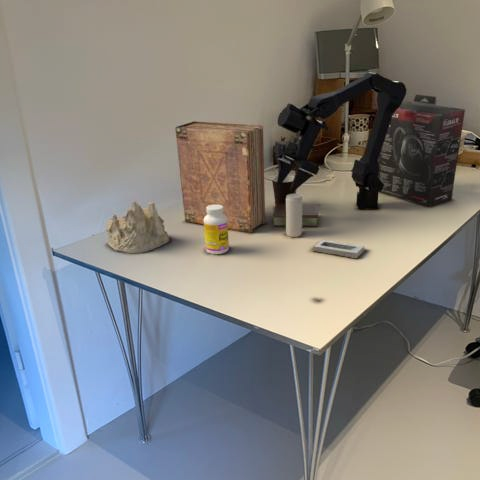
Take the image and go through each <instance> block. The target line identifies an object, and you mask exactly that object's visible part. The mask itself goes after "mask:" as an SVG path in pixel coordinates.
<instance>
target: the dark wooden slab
mask: <svg viewBox="0 0 480 480" xmlns="http://www.w3.org/2000/svg"><path fill="white" fill-rule="evenodd" d="M319 213H320V203H302V228H317V227H318V226H319V225H318V224H319ZM272 217H273V226H274V227H277V228H280V227H281V228H283V227H284V228H286V204H276V206H274V209H273V212H272Z"/></svg>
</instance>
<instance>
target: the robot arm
mask: <svg viewBox="0 0 480 480" xmlns="http://www.w3.org/2000/svg"><path fill="white" fill-rule="evenodd" d="M370 90H372V92H375V93H377V95H376V96H377V97H376V105H377V112H376V114H375V118H374V121H373V124H372V126H371V130H370V133H369V135H368V140H367V143H366V146H365V149H364V151H363V155H362V157H361V158H360V159H355V160H354V161H353V167H352V169H351V170H350V172H351V179H352V181H353V182H354V183H355V186H356V187H357V188H358V191H356V200H355V203H356V204H355V205H356V207H357V209H358V210H378V209H379V204H378V203H379V193H380V192H379V191H382V189H383V186H384V184H383V183H382V181H381V180H380V179H379V178H378V174H379V164H378V158H379V155H380V152H381V149H382V146H383V143H384V140H385V137H386V134H387V131H388V128H389V125H390V122H391V119H392V116H393V114H394V112H395V111H396V110H397V109H398V108H399V107H400V105H401V104H402V102H404V100H405V97H406V95H407V87H406V85H405V83H403V82H402V81H395V80H392V79H390V78H387V77H385V76H383V75H381V74H379V73H377V72H370V71H369V72H367V73H365V74H364V75H363V76H360V77H359V78H357V79H355V80H353V81H351V82H349V83H347V84H345V85H343V86H341V87H339V88H338V89H335V90H333V91H331V92H325V93H321V94H317V95H314V96H312V97H310V99H309V100H308V102H307V103H306V104H304V105H303V106H301V107H300V108H299V107H297V106H296V105H294V104H292V103H289V102H288V103H287V104H286V106H285V107H284V108H283V109H282V110H281V111H280V113H278V117H277V125H278V127H281V128H282V129H285V130H287V131H289V132H291V133H293V134H297V133H298V134H297V135H296V137H293V138H292V139H291V140H290V141H288V140H286V141H277V140H276V141H274V150H273V153H274V157H275V161H276V162H277V165H278V172H277V176H278V179H277V184H279V185H280V184H281V183H282V182H283V181H284V179H285V178H286V177H287V175H289V174H290V173H291V172H292V170H293V169H294V173H295V174H294V176H295V177H294V180H293V182H292V185H291V189H290V191H291V192H294V191H295V190H296V189H299V188H300V187H301V186H302V185H303V184H304V183H306V182H307V181H308V180H309V179H311V178H313V177H314V175H315V176H317V175H318V173H319V171H320V167H319V164H317V163H314V162H312V161H311V160H310V159H309V157H310V155H311V153H312V151H316V148H317V147H316V146H315V144H316V142H317V139H318V138H319V135H320V133H321V130H324V131H329V126H328V125H327V121H326V120H325V119H329V118H330V117H331V116H333V115H334V114H335V113H336V112H337V111H338V110H339V108H340V107H341V106H343V105H345V104H346V103H348V102H350V101H353V100H354V99H356V98H357V97H359V96H361V95H364V94H366V93H367V92H368V91H369V92H370ZM308 117H309V118H310V119H309V118H308ZM317 118H318V119H321V120H318V119H317ZM296 191H297V190H296Z"/></svg>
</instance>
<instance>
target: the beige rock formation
mask: <svg viewBox="0 0 480 480" xmlns="http://www.w3.org/2000/svg"><path fill="white" fill-rule="evenodd" d="M164 222H165V220H164V219H163V218H162V217H161V216H160V215H159V214H158V210H157V207H156V204H155V201H154V202H153V201H149V202H148V204H147V207H142V205H140V204H139V203H137V200H134V199H133V200H131V205H130V209H128V210H127V211H126V213H125V215H124V216H122V217H121V216H120V217H117V214H113V213H112V215H111V217H110V218H109V220H108V222H107V224H106V226H105V229H104V230H105V231H106V232H107V236H108V238H109V239H108V241H107V243H108V244H107V245H108V246H109V247H110V248H112V249H113V250H115V251H116V252H117V251H119V252H123V253H129V254H130V253H131V254H141V253H144V252H145V253H146V252H147V253H148V252H150V251H152V250H155V249H157V248H159V247H162V246H164V245H166V244H167V243H169V242H170V236H169V234H168V231H166V228H165V225H164Z"/></svg>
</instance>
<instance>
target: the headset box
mask: <svg viewBox="0 0 480 480" xmlns="http://www.w3.org/2000/svg"><path fill="white" fill-rule="evenodd" d="M423 100H426V101H423ZM465 112H466V109H464V108H458V107H451V106H443V105H437V96H434V95H433V96H432V95H424V94H418V93H417V94H415V95H414V98H413V100H412V101H406V100H405V101H403V102H402V104H401V105H400V107H399V108H398V109H397V110H396V111H395V112H394V114H393V116H392V119H391V122H390V125H389V128H388V131H387V134H386V137H385V140H384V143H383V146H382V149H381V152H380V155H379V158H378V164H379V174H378V178H379V179H380V180H381V181H382V183H383V184H384V186H383V189H382V191H379V193H382V194H386V195H389V196H392V197H395V198H399V199H402V200H405V201H409V202H412V203H415V204H418V205H421V206H425V207H428V208H431V207H433V206H437V205H439V204H442V203H445V202H448V201H451V200H452V198H453V192H454V185H455V178H456V172H457V164H458V159H459V153H460V145H461V139H462V133H463V126H464V119H465V114H466V113H465Z"/></svg>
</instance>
